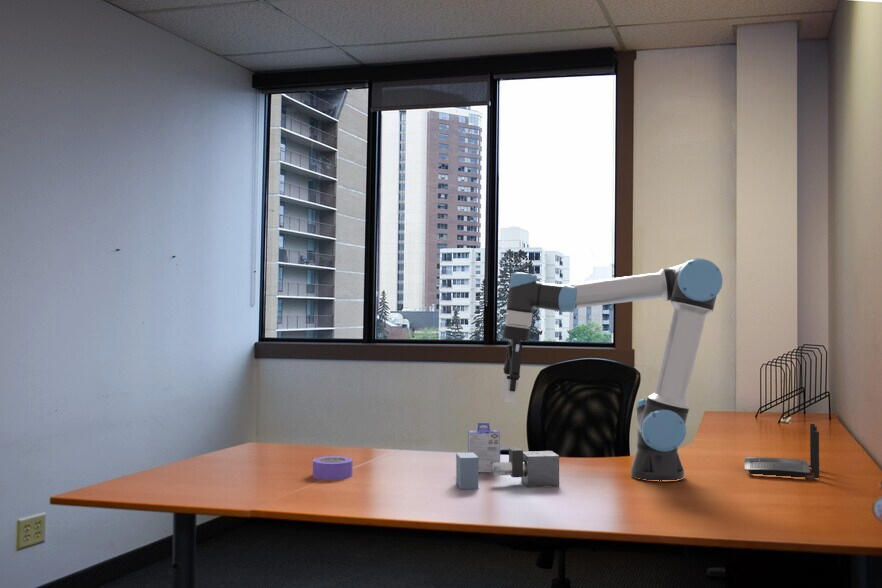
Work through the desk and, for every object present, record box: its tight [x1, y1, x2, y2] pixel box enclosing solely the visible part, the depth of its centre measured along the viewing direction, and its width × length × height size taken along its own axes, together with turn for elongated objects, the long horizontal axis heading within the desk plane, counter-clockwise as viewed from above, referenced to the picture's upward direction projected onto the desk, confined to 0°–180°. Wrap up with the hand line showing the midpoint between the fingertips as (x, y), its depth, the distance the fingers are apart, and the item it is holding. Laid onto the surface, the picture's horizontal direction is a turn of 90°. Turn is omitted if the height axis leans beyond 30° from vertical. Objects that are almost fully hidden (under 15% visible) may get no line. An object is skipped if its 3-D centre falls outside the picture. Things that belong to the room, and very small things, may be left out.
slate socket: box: [455, 452, 479, 490], centre depth 231 cm, size 5×8×9 cm, turn 7°
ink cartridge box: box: [467, 422, 501, 473], centre depth 252 cm, size 10×6×14 cm, turn 90°
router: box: [744, 423, 820, 479], centre depth 250 cm, size 21×20×15 cm
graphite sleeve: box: [520, 450, 560, 488], centre depth 234 cm, size 9×8×8 cm
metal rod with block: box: [491, 447, 526, 478], centre depth 233 cm, size 18×5×8 cm, turn 97°
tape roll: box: [312, 455, 354, 481], centre depth 245 cm, size 12×12×5 cm
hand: (507, 399), depth 237 cm, fingers open, 13 cm apart
